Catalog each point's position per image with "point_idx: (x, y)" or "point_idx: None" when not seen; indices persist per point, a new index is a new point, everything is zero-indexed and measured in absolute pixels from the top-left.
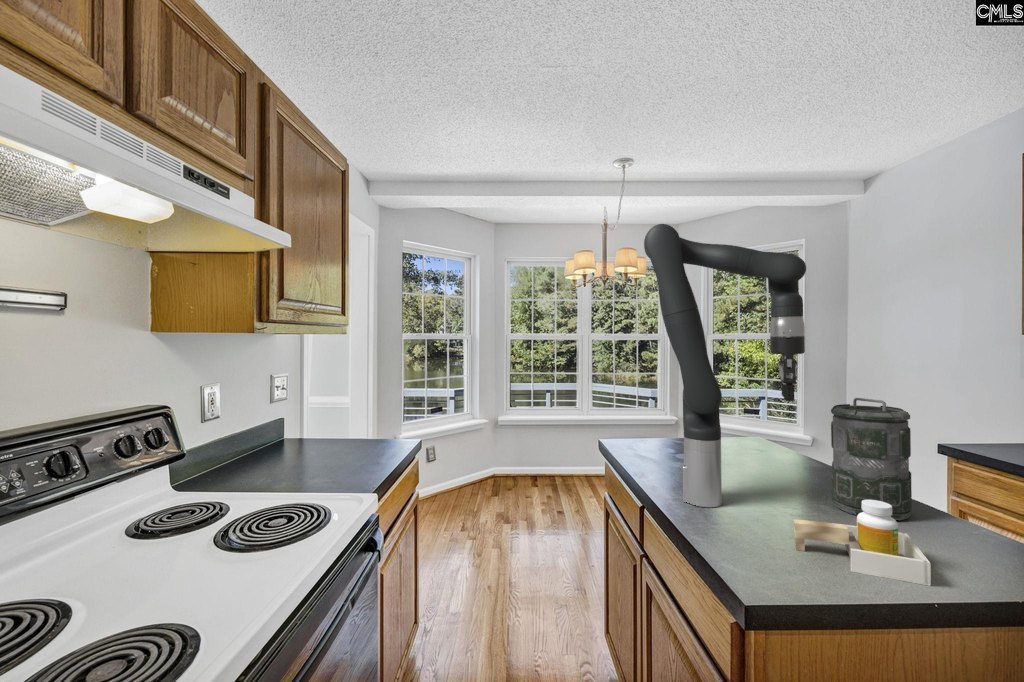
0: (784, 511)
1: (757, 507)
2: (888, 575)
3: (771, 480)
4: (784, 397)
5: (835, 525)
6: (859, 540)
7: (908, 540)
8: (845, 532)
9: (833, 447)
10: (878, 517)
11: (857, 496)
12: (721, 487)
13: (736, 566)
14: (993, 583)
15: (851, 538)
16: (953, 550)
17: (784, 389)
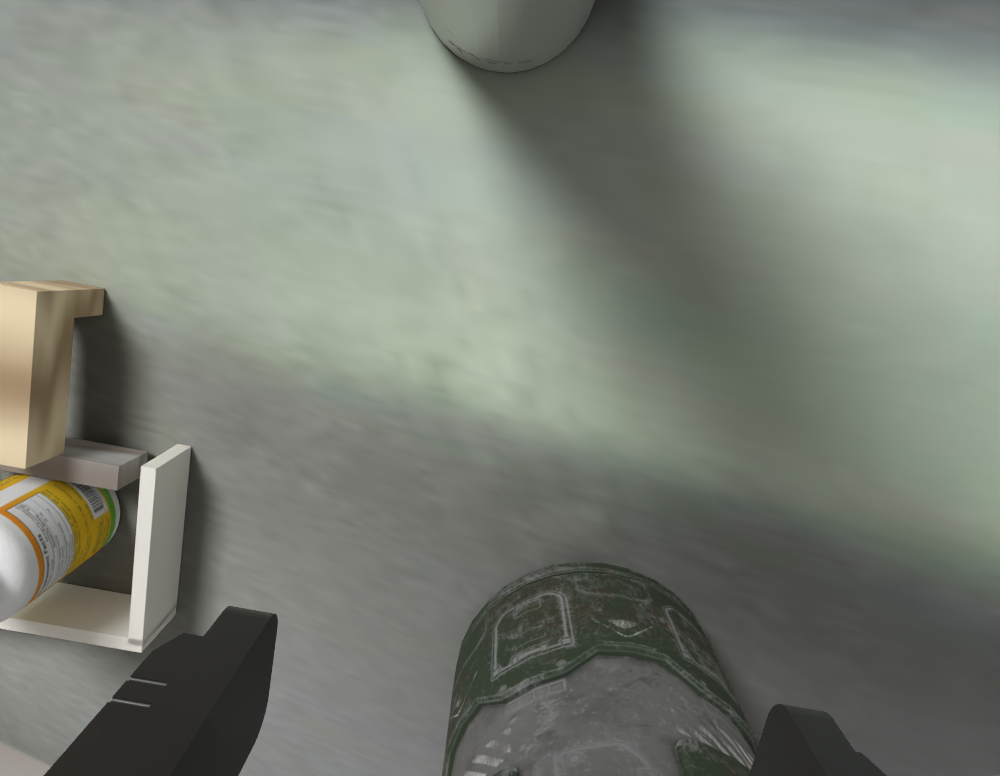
0: (473, 344)
1: (495, 238)
2: None
3: (949, 400)
4: (212, 629)
5: (3, 428)
6: (6, 480)
7: (74, 630)
8: None
9: (665, 743)
10: None
11: (478, 644)
12: (485, 46)
13: None
14: (49, 729)
15: (51, 466)
16: (254, 747)
17: (136, 730)
